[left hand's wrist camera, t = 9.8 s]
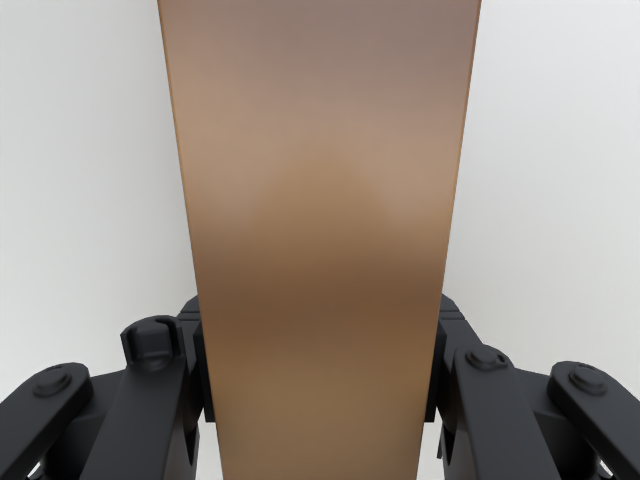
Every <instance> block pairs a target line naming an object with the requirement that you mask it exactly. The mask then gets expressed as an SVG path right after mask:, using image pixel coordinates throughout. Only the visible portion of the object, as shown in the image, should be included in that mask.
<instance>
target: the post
mask: <svg viewBox="0 0 640 480" xmlns="http://www.w3.org/2000/svg"><path fill="white" fill-rule="evenodd" d="M157 2H158V10H159V17H160V24H161V31H162V39H163V46H164V53H165V60H166V68H167V75H168V82H169V89H170V97H171V104H172V111H173V118H174V126H175V133H176V140H177V147H178V155H179V162H180V169H181V176H182V184H183V191H184V198H185V205H186V213H187V220H188V227H189V234H190V241H191V249H192V256H193V263H194V270H195V278H196V285H197V292H198V299H199V307H200V314H201V321H202V328H203V336H204V343H205V350H206V357H207V365H208V372H209V379H210V386H211V394H212V401H213V408H214V415H215V423H216V430H217V437H218V444H219V452H220V459H221V466H222V473H223V480H416V478H417V471H418V463H419V456H420V448H421V441H422V434H423V426H424V419H425V412H426V404H427V397H428V390H429V382H430V375H431V368H432V360H433V353H434V346H435V338H436V331H437V324H438V316H439V309H440V302H441V294H442V287H443V279H444V272H445V265H446V257H447V250H448V243H449V235H450V228H451V221H452V213H453V206H454V199H455V191H456V184H457V177H458V169H459V162H460V155H461V147H462V140H463V133H464V125H465V118H466V111H467V103H468V96H469V88H470V81H471V74H472V66H473V59H474V52H475V44H476V37H477V30H478V22H479V15H480V8H481V0H157Z"/></svg>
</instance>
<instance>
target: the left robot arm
mask: <svg viewBox="0 0 640 480" xmlns="http://www.w3.org/2000/svg"><path fill="white" fill-rule="evenodd" d="M120 337H121V341H122V345H123V349H124V353H125V358H126V362H127V366H126V368H125V369H124V370H121V371H117V372H113V373H108V374H103V375H99V376H94V377H90V374H89V371H88V368H87V367H86V366H84V365H83V364H80V363H74V362H73V363H64V364H59V365H55V366H52V367H49V368H46V369H45V370H43V371H41V372H38V373H36V374H34V375H33V376H32V377H30V378H29V379H28V380H26V381H25V382H23V383H22V384H21V385H20V386H19V387H18V388H17V389H16V390H15V391H14V392H12V393H11V394H10V395H9V396H8V397H7V398H6V399H5V400H4V401H3V402H1V403H0V480H195V477H196V467H197V458H198V448H199V439H200V435H199V428H198V419H199V417H200V414H201V412H202V409H203V407H204V414H205V421H206V422H215V415H214V408H213V401H212V394H211V386H210V379H209V372H208V365H207V357H206V350H205V343H204V336H203V328H202V321H201V314H200V307H199V299H198V295H197V296H195V297H194V298H192V299H191V300H189V301H188V302H187V303H186V304H185V306H184V307H183V308H182V310H181V311H180V313H179V314H178V316H177V317H173V316H168V315H157V316H152V317H148V318H144V319H142V320H139V321H137V322H134V323H133V324H131V325H130V326H128V327H127V328H125V330H124V331H123V332H122V333H121V334H120ZM436 406H437V408H438V411H439V413H440V416H441V418H442V421H443V422H442V428H441V434H440V440H439V447H438V453H437V458H439V459H441V458H442V457H443V467H444V476H445V480H640V401H639V400H638V399H636V398H635V397H634V396H633V395H632V394H631V393H630V392H629V391H628V390H626V389H625V388H624V387H623V386H622V385H621V384H620V383H619V382H618V381H616V380H615V379H614V378H612V377H611V376H609V375H608V374H607V373H605V372H603V371H601V370H599V369H597V368H595V367H593V366H590V365H586V364H584V363H580V362H573V361H563V362H557V363H556V364H555V365H554V366H553V367H552V370H551V373H550V376H548V375H543V374H539V373H534V372H529V371H525V370H521V369H517V368H514V365H513V363H512V362H511V361H510V359H509V358H508V357H507V356H506V355H505V354H503V353H502V352H501V351H499V350H497V349H495V348H493V347H491V346H489V345H484V344H483V343H482V342H481V341H480V339H479V338H478V336H477V335H476V333H475V332H474V330H473V329H472V328H471V326H470V325H469V323H468V322H467V320H465V317H464V316H463V315H462V313H461V312H460V311H459V309H458V307H457V306H456V304H455V303H454V302H453V301H452V300H451V299H449V298H448V297H447V296H445V295H444V294H441V302H440V309H439V316H438V324H437V331H436V338H435V346H434V353H433V360H432V368H431V375H430V382H429V390H428V397H427V404H426V412H425V419H424V422H434V419H435V413H436ZM601 460H602V461H603V462H604V464H605V465H606V466H607V467H608V468H609V470H610V471H611V472H612V473H613V476H610V475H609V474H608V473H607V472H606V471H605V469H604V468H603V467H602V466H601V464H600V462H601ZM38 462H39V463H40V466H39V467H38V469H37V470H36V471H35V472H34V473H33V474H32V475H31V476H30V477H29V478H28V477H27V476H28V474H29V473H30V472H31V471H32V469H33V468H34V467H35V466H36V465H37V463H38Z"/></svg>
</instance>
